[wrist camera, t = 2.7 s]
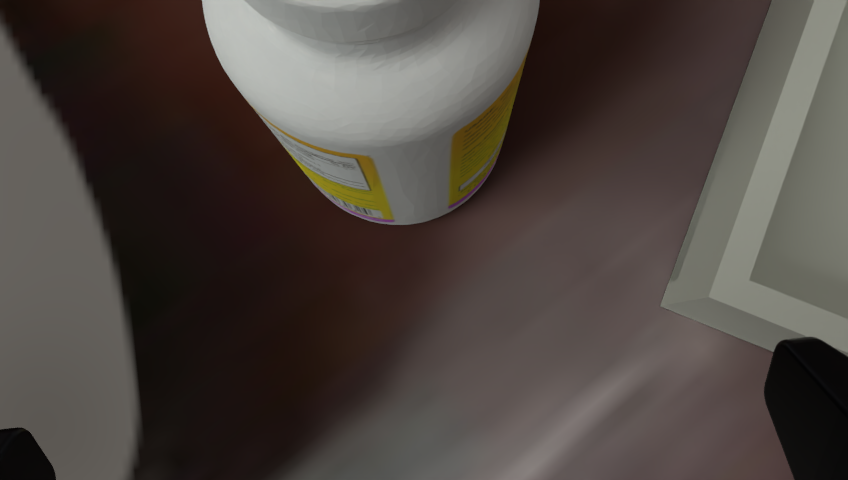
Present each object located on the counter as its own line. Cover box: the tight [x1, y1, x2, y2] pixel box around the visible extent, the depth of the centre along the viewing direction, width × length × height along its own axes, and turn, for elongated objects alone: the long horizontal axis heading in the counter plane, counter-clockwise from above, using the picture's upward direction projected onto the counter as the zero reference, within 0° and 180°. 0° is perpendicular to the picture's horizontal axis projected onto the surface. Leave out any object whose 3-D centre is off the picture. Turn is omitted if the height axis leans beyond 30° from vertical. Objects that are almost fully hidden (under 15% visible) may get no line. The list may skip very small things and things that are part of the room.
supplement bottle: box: [202, 0, 540, 225], centre depth 17 cm, size 7×7×13 cm
